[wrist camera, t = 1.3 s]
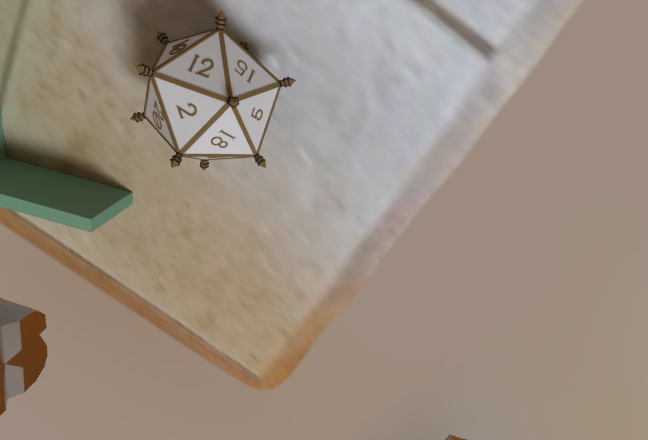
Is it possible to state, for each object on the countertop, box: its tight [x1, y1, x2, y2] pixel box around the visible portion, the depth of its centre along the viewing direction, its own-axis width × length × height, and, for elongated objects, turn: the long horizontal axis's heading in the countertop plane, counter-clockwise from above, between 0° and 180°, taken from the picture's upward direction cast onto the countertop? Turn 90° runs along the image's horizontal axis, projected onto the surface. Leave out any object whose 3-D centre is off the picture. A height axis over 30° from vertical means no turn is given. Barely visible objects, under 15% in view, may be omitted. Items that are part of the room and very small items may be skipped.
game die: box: [130, 11, 296, 171], centre depth 27 cm, size 9×8×10 cm
